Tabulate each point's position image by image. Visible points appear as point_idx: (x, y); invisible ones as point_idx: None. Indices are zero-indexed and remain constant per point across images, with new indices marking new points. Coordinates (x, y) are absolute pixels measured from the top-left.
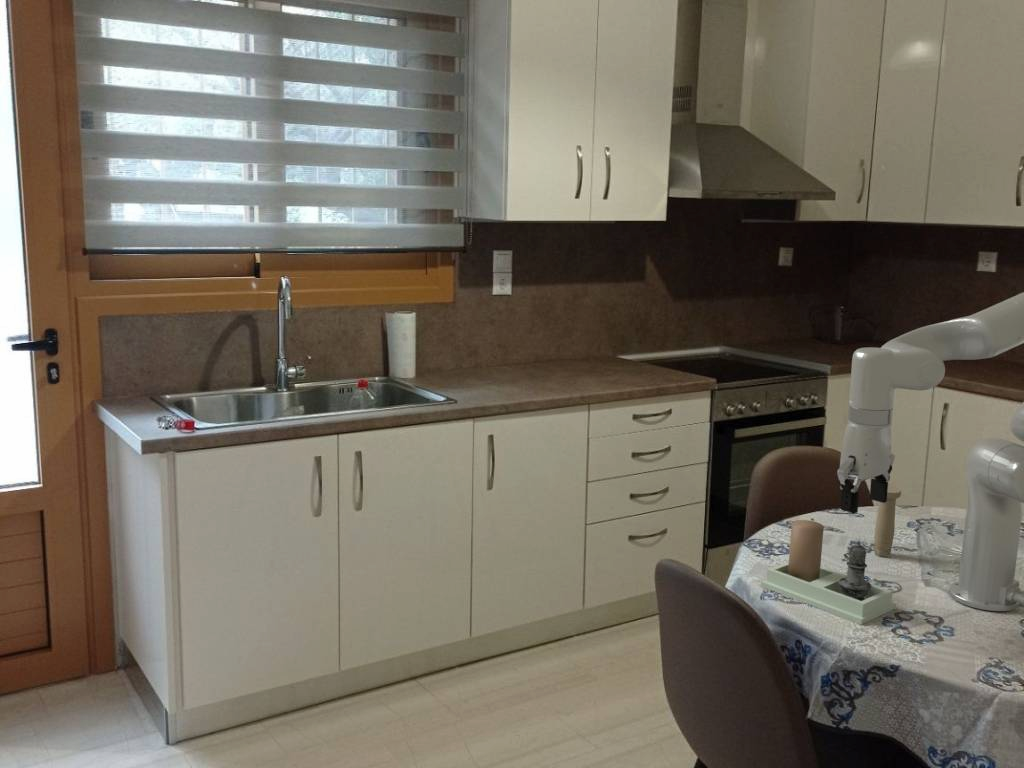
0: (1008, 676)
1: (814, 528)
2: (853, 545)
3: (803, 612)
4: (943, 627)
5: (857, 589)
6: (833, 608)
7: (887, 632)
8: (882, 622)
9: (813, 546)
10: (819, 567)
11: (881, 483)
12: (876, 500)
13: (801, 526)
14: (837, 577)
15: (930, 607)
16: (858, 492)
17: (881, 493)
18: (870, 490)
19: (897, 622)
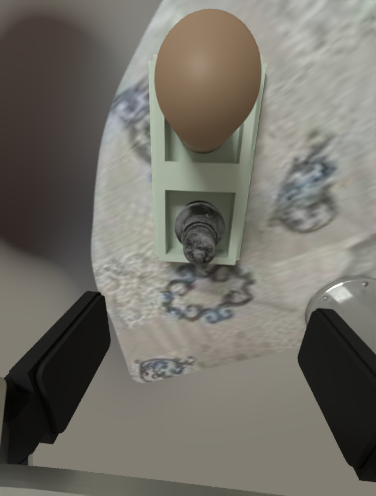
0: (167, 374)
1: (195, 121)
2: (197, 242)
3: (125, 184)
4: (225, 311)
5: (180, 242)
6: (154, 215)
7: (163, 280)
8: (183, 265)
9: (184, 140)
10: (209, 150)
11: (353, 447)
12: (305, 334)
13: (178, 75)
14: (224, 181)
15: (272, 281)
16: (47, 443)
17: (318, 385)
18: (336, 340)
19: (197, 276)
